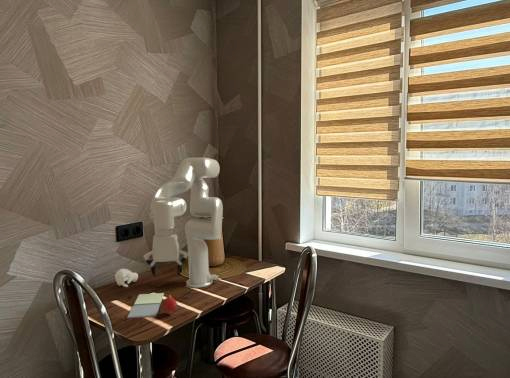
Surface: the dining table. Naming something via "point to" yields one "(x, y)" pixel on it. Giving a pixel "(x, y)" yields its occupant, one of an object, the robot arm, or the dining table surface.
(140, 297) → the mat
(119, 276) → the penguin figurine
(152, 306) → the toy mat
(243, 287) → the dining table surface
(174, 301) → the onion
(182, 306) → the dining table surface
